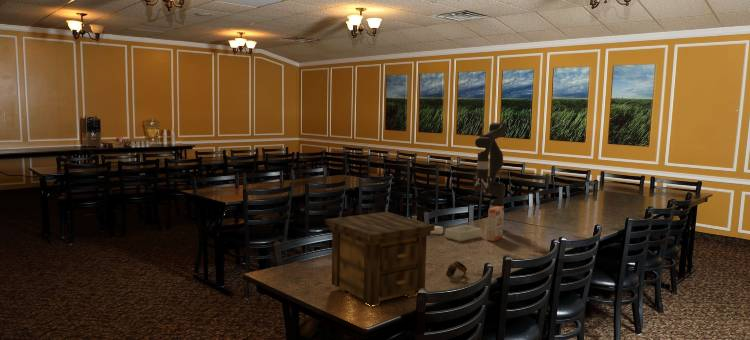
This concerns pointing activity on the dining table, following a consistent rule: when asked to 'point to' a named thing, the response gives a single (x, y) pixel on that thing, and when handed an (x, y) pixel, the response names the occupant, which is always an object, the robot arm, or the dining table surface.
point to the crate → (378, 255)
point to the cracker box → (495, 223)
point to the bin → (463, 233)
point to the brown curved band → (455, 266)
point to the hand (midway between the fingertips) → (481, 192)
